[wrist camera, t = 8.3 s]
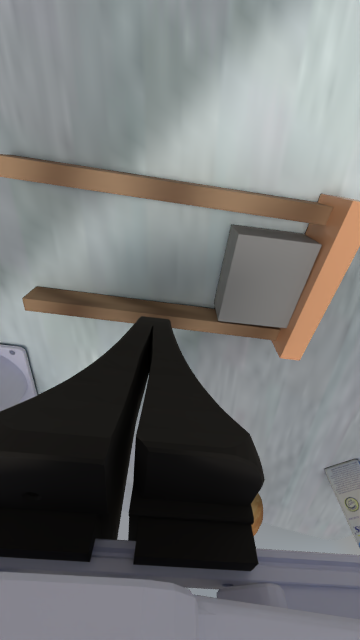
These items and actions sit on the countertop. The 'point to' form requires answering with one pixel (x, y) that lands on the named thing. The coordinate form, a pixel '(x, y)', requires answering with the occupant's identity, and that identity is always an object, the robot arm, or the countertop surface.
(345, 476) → the medicine box
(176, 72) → the countertop surface
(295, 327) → the rail lane
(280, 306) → the block
